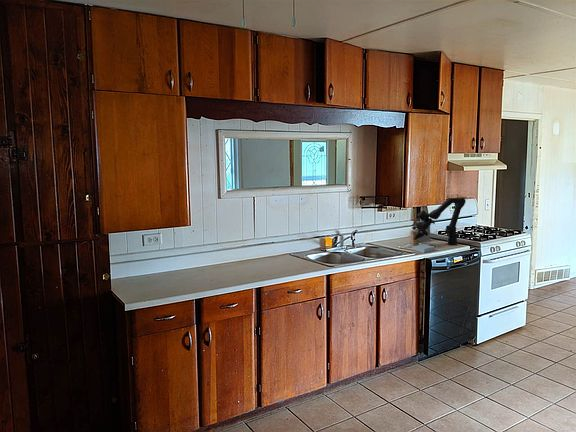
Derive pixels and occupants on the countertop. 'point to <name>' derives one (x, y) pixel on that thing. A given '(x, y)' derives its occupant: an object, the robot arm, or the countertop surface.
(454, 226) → the robot arm
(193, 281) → the countertop surface
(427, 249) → the plinth
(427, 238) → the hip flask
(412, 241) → the walnut block
